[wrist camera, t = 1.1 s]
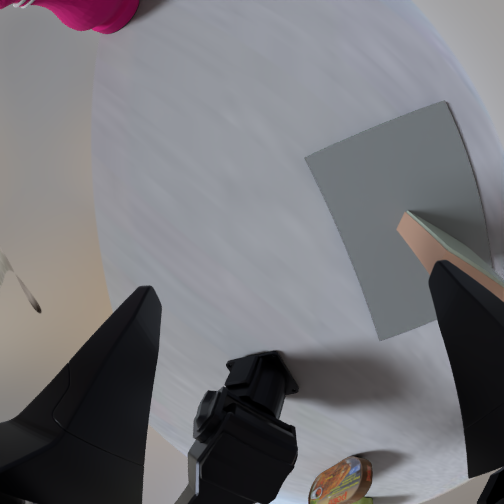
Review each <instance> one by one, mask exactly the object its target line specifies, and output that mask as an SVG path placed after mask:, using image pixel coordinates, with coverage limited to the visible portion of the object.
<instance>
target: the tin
mask: <svg viewBox="0 0 504 504" xmlns="http://www.w3.org/2000/svg"><path fill="white" fill-rule="evenodd" d="M372 476H373V471H372V465H371V463H370V462H369V461H368V460H367V459H363V458H358V457H355V456H350V457H347V458H346V459H344V460H342V461H341V462H339V463H338V464H336V465H334V466H333V467H331V468H329V469H327V470H326V471H324V472H322V473H321V474H320V475H319V476H318V477H317V478H316V479H315V481H314V482H313V484H312V486H311V489H310V492H309V497H308V504H352V503H354V502H357V501H359V500H360V499H362V498H363V497H364V496H365V495H366V493H367V492H368V490H369V488H370V486H371V484H372Z"/></svg>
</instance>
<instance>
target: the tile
mask: <svg viewBox="0 0 504 504" xmlns="http://www.w3.org/2000/svg"><path fill="white" fill-rule="evenodd" d="M396 230H397V231H398V232H399V233H400V235H401V236H402V237H403V239H404V240H405V241H406V243H407V244H408V245H409V247H410V248H411V249H412V251H413V252H414V253H415V255H416V256H417V257H418V259H419V260H420V262H421V263H422V264H423V266H424V267H425V269H426V270H427V272H428V273H429V275H430V274H431V272H432V269H433V266H434V264H435V262H436V261H438V260H448V261H449V262H451V263H452V264H454V265H455V266H457V267H458V268H460V269H461V270H462V271H464V272H465V273H467V274H468V275H469V276H471V277H472V278H473V279H475V280H476V281H477V282H479V283H480V284H481V285H483V286H484V287H485V288H487V289H488V290H489V291H491V292H492V293H493V294H494V295H496V296H497V297H498V298H500V299H501V300H502V301H503V302H504V279H503V278H502V277H501V276H499V275H498V274H497V273H496V272H495V271H494V270H493V269H492V268H491V267H490V266H489V265H488V264H487V263H486V262H484V261H483V260H482V259H481V258H480V257H479V256H478V255H476V254H475V253H474V252H473V251H472V250H471V249H470V248H468V247H467V246H466V245H464V244H463V243H461V242H460V241H458V240H457V239H455V238H453V237H452V236H450V235H449V234H447V233H445V232H444V231H442V230H441V229H439V228H437V227H436V226H434V225H432V224H431V223H429V222H427V221H425V220H424V219H422V218H420V217H418V216H417V215H415V214H413V213H411V212H410V211H408V210H407V212H404V215H403V217H402V219H401V221H400V223H399V225H398V227H397V229H396Z"/></svg>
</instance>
